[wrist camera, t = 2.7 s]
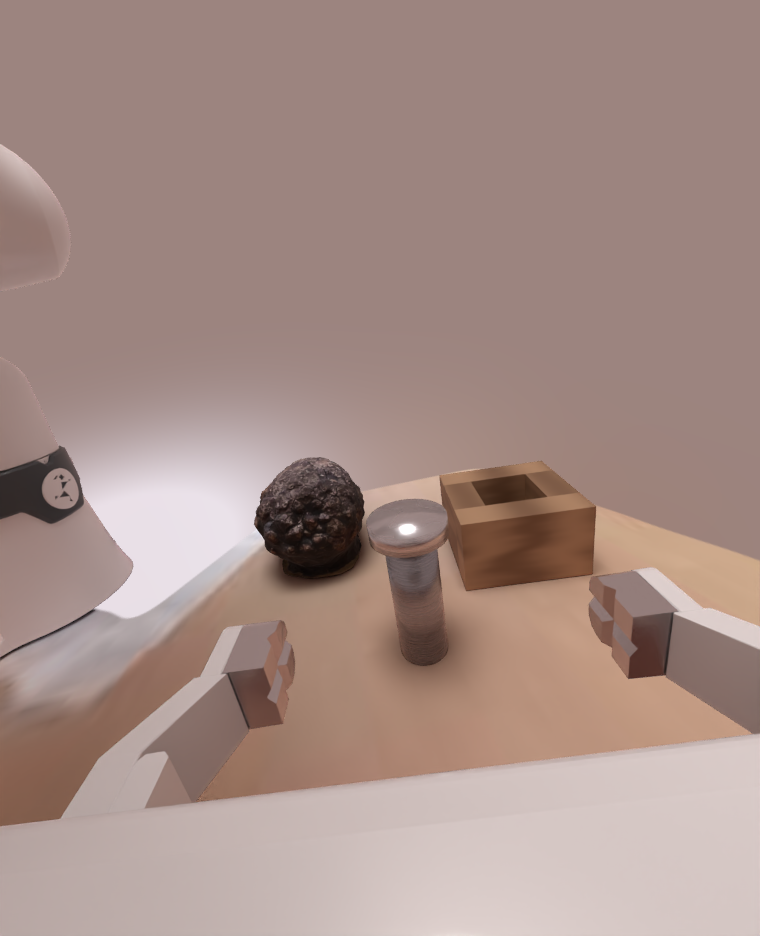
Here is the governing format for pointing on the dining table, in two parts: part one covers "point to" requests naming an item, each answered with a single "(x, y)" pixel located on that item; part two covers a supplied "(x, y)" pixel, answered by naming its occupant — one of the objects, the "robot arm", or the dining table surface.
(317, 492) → the pine cone
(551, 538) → the socket block
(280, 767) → the dining table surface
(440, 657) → the pin
